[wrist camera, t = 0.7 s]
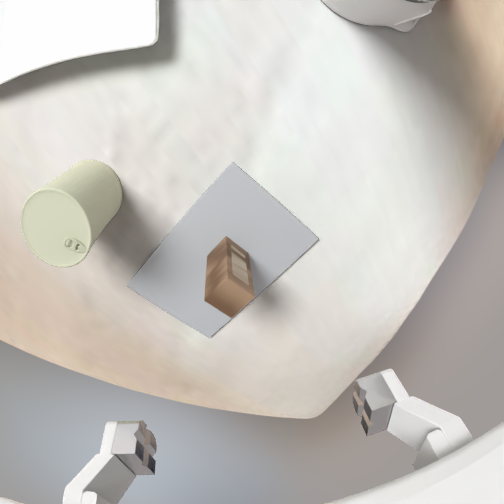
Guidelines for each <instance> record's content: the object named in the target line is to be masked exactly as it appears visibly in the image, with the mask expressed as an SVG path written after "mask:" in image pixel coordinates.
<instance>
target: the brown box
mask: <svg viewBox="0 0 504 504" xmlns="http://www.w3.org/2000/svg"><path fill="white" fill-rule="evenodd" d="M254 298H255V294H254V287H253V281H252V274H251V268H250V261H249V255H248V252H246V251H245V250H244V249H243V248H241V247H240V246H239V245H237V244H236V243H235V242H233V241H232V240H231V239H230V238H228V237H227V236H226V237H225V238H224V239H223V240H222V241H221V242H220V243H219V244H218V245H217V246H216V247H215V248H214V249H213V250H212V251H211V252H210V253H209V254H208V255H207V264H206V280H205V296H204V301H205V302H207V303H208V304H210V305H212V306H213V307H215V308H216V309H218V310H219V311H221V312H222V313H224V314H226V315H227V316H229V317H230V318H232V317H233V316H234V315H236V314H237V313H238V312H239V311H240V310H241V309H242V308H243V307H245V306H246V305H247V304H248V303H249V302H250V301H251V300H252V299H254Z"/></svg>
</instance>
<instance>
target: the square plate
mask: <svg viewBox="0 0 504 504" xmlns="http://www.w3.org/2000/svg"><path fill="white" fill-rule="evenodd" d="M158 36H159V0H0V85H1V84H3V83H6V82H8V81H10V80H12V79H15V78H17V77H19V76H22V75H24V74H27V73H30V72H32V71H35V70H38V69H41V68H43V67H46V66H50V65H53V64H57V63H60V62H64V61H68V60H72V59H76V58H81V57H86V56H91V55H97V54H103V53H109V52H116V51H123V50H130V49H138V48H143V47H148V46H152V45H154V44H155V43H156V42H157V40H158Z"/></svg>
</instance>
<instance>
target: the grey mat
mask: <svg viewBox="0 0 504 504" xmlns="http://www.w3.org/2000/svg"><path fill="white" fill-rule="evenodd" d="M226 236H227V237H228V238H230V239H231V240H232V241H233V242H235V243H236V244H237V245H239V246H240V247H241V248H243V249H244V250H245V251H246V252H248V255H249V261H250V268H251V274H252V281H253V287H254V294H255V297H256V296H257V295H259V294H260V293H261V292H262V291H263V290H264V289H265V288H266V287H267V286H268V285H270V284H271V283H272V282H273V281H274V280H275V279H276V278H277V277H278V276H279V275H281V274H282V273H283V272H284V271H285V270H286V269H287V268H288V267H289V266H290V265H291V264H293V263H294V262H295V261H296V260H297V259H298V258H299V257H300V256H301V255H302V254H303V253H304V252H306V251H307V250H308V249H309V248H310V247H311V246H312V245H313V244H314V243H315V242H316V241H317V240H318V239H319V238H318V237H317V236H316V235H315V234H314V233H313V232H312V231H310V230H309V229H308V228H307V227H306V226H305V225H304V224H303V223H302V222H301V221H300V220H298V219H297V218H296V217H295V216H294V215H293V214H292V213H291V212H290V211H288V210H287V209H286V208H285V207H284V206H283V205H282V204H281V203H280V202H278V201H277V200H276V199H275V198H274V197H273V196H272V195H271V194H269V193H268V192H267V191H266V190H265V189H264V188H263V187H261V186H260V185H259V184H258V183H257V182H256V181H255V180H253V179H252V178H251V177H250V176H249V175H248V174H246V173H245V172H244V171H243V170H242V169H241V168H239V167H238V166H237V165H236V164H235V163H234V162H232V163H231V164H230V165H229V166H228V167H227V168H226V169H225V170H224V171H223V172H222V173H221V175H220V176H219V177H218V178H217V179H216V180H215V181H214V182H213V183H212V184H211V186H210V187H209V188H208V189H207V190H206V191H205V192H204V193H203V195H202V196H201V197H200V198H199V199H198V200H197V201H196V203H195V204H194V205H193V206H192V207H191V208H190V209H189V211H188V212H187V213H186V214H185V215H184V216H183V218H182V219H181V220H180V221H179V222H178V223H177V225H176V226H175V227H174V228H173V229H172V230H171V232H170V233H169V234H168V235H167V236H166V238H165V239H164V240H163V241H162V242H161V244H160V245H159V246H158V247H157V249H156V250H155V251H154V252H153V253H152V255H151V256H150V257H149V258H148V260H147V261H146V262H145V263H144V265H143V266H142V267H141V268H140V270H139V271H138V272H137V273H136V275H135V276H134V277H133V278H132V280H131V281H130V282H129V283H128V285H127V287H129V288H130V289H132V290H133V291H135V292H136V293H138V294H139V295H141V296H142V297H144V298H145V299H147V300H148V301H150V302H151V303H153V304H154V305H156V306H158V307H159V308H161V309H162V310H164V311H165V312H167V313H169V314H170V315H172V316H174V317H175V318H177V319H178V320H180V321H182V322H183V323H185V324H187V325H188V326H190V327H192V328H193V329H195V330H197V331H198V332H200V333H202V334H203V335H205V336H207V337H209V338H210V337H211V336H212V335H213V334H214V333H216V332H217V331H218V330H219V329H220V328H221V327H222V326H224V325H225V324H226V323H227V322H228V321H229V320H230V319H232V318H233V317H234V316H235V315H234V316H233V317H232V318H230V317H229V316H227V315H226V314H224V313H222V312H221V311H219V310H218V309H216V308H215V307H213V306H212V305H210V304H208V303H207V302H205V301H204V296H205V280H206V264H207V255H208V254H209V253H210V252H211V251H212V250H213V249H214V248H215V247H216V246H217V245H218V244H219V243H220V242H221V241H222V240H223V239H224V238H225V237H226ZM252 300H253V299H252ZM252 300H251V301H252ZM251 301H250V302H251ZM250 302H249V303H250ZM243 308H244V307H243ZM243 308H242V309H243ZM242 309H241V310H242ZM241 310H240V311H241Z"/></svg>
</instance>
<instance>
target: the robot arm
mask: <svg viewBox="0 0 504 504" xmlns="http://www.w3.org/2000/svg"><path fill="white" fill-rule="evenodd" d="M322 1H323V2H324V3H325V4H326V5H327V6H328V7H329V8H330V9H332V10H333V11H334V12H336V13H337V14H339V15H340V16H342V17H344V18H346V19H348V20H350V21H353V22H356V23H359V24H364V25H371V26H389V27H391V28H394V29H396V30H398V31H401V32H408V31H410V30H412V29H413V28H414V26H415V25H416V23H417V22H418V20H419V19H420V17H422V16H425V15H428V14H430V13H431V12H432V10H431V9H432V8H433V6H434V5H435V3H436V1H440V0H322ZM354 389H355V391H354V393H353V404H354V407H355V410H356V413H357V415H359V416H361V417H362V421H361V424H362V426H363V428H364V431H365V433H366V435H367V436H368V435H372V434H375V433H378V432H381V431H384V430H386V429H387V431H389V432H390V433H392V434H393V435H395V436H396V437H398V438H399V439H401V440H402V441H404V442H405V443H407V444H408V445H410V446H412V447H413V448H415V449H416V450H418V451H419V453H418V455H417V457H416V459H415V461H414V463H413V464H412V465H413V467H414V469H415V471H414V472H412V473H410V474H408V475H405V476H403V477H401V478H398V479H396V480H393V481H391V482H388V483H386V484H383V485H380V486H378V487H375V488H372V489H369V490H367V491H364V492H361V493H358V494H355V495H352V496H348V497H345V498H342V499H338V500H335V501H331V502H328V503H325V504H504V421H503V422H502V423H500V424H499V425H497V426H496V427H494V428H493V429H491V430H490V431H488V432H487V433H485V434H483V435H482V436H480V437H479V438H477V439H475V440H474V439H473V437H472V436H471V434H470V432H469V431H468V429H467V428H466V426H465V425H464V423H463V422H462V420H461V419H460V417H458V416H456V415H453V414H451V413H449V412H447V411H444V410H442V409H440V408H438V407H436V406H434V405H431V404H429V403H427V402H425V401H423V400H421V399H419V398H416V397H414V396H412V397H410V396H409V395H408V393H407V392H406V390H405V388H404V387H403V385H402V383H401V382H400V380H399V379H398V377H397V375H396V374H395V372H394V371H393V370H392V369H391V368H390V369H387V370H384V371H381V372H379V373H375V374H372V375H369V376H366V377H363V378H360V379H357V380H355V381H354ZM146 426H147V425H146V424H145V422H144V421H112V422H107V424H106V426H105V430H104V435H103V440H102V445H101V450H100V454H96V455H95V456H94V457H93V459H92V460H91V461H90V462H89V463H88V464H87V465H86V466H85V467H84V468H83V469H82V470H81V471H80V472H79V474H78V475H77V476H76V477H75V478H74V479H73V480H72V481H71V482H70V483H69V484H68V485H67V486H66V488H65V492H64V497H63V502H62V504H118V503H119V501H120V500H121V498H122V497H123V495H124V494H125V492H126V490H127V489H128V487H129V486H130V485H131V483H132V482H133V480H134V479H135V477H136V475H154V474H155V462H156V461H155V460H154V458H153V457H152V456H153V455H154V453H156V440H155V437H154V435H153V433H152V432H151V431H150V430H148V429H146ZM0 504H25V503H21V502H18V501H15V500H12V499H9V498H6V497H1V496H0Z"/></svg>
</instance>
